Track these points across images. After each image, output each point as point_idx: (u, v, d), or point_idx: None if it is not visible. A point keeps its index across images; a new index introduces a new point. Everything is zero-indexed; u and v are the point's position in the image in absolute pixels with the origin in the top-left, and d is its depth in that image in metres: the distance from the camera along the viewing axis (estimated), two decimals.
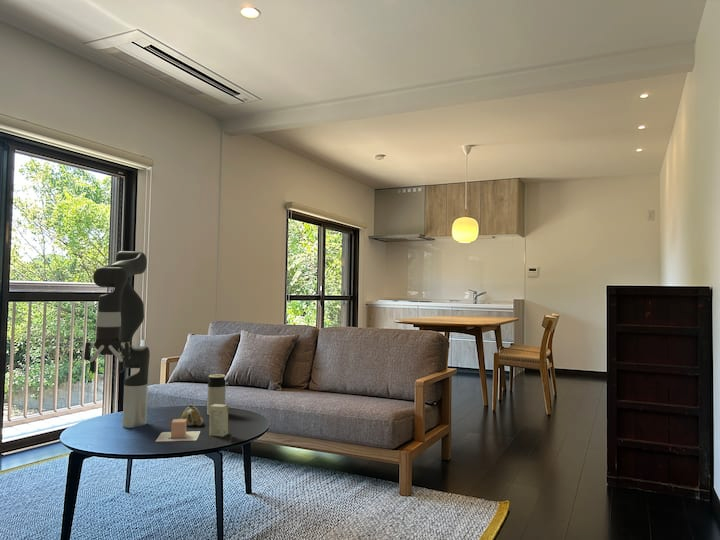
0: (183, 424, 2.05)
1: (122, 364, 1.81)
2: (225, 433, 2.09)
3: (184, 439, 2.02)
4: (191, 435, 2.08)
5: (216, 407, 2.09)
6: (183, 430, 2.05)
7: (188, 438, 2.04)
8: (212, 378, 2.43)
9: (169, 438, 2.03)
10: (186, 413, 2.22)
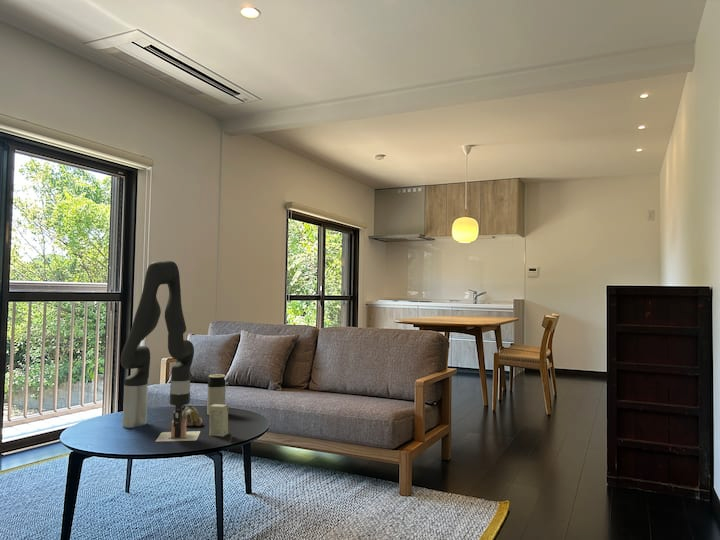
0: (183, 424, 2.05)
1: None
2: (225, 433, 2.09)
3: (184, 439, 2.02)
4: (191, 435, 2.08)
5: (216, 407, 2.09)
6: (183, 430, 2.05)
7: (188, 438, 2.04)
8: (212, 378, 2.43)
9: (169, 438, 2.03)
10: (185, 413, 2.22)
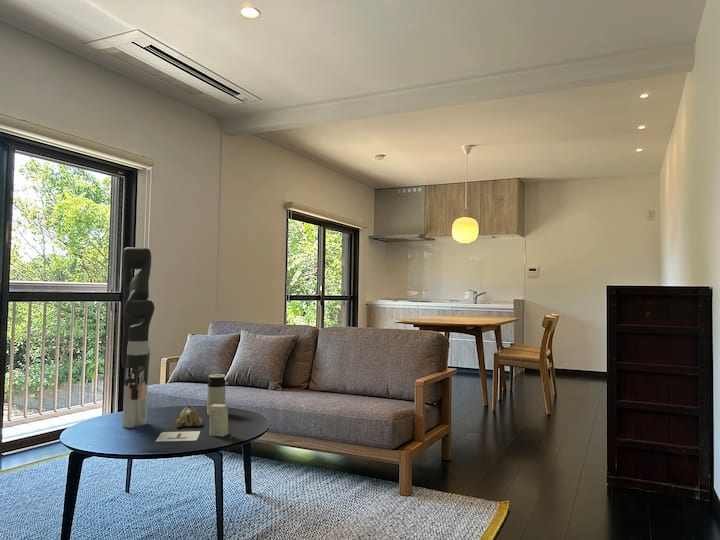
0: (141, 386, 1.97)
1: None
2: (225, 433, 2.09)
3: (184, 439, 2.02)
4: (191, 435, 2.08)
5: (216, 407, 2.09)
6: (140, 392, 1.97)
7: (188, 438, 2.04)
8: (212, 378, 2.43)
9: (169, 438, 2.03)
10: (185, 414, 2.21)
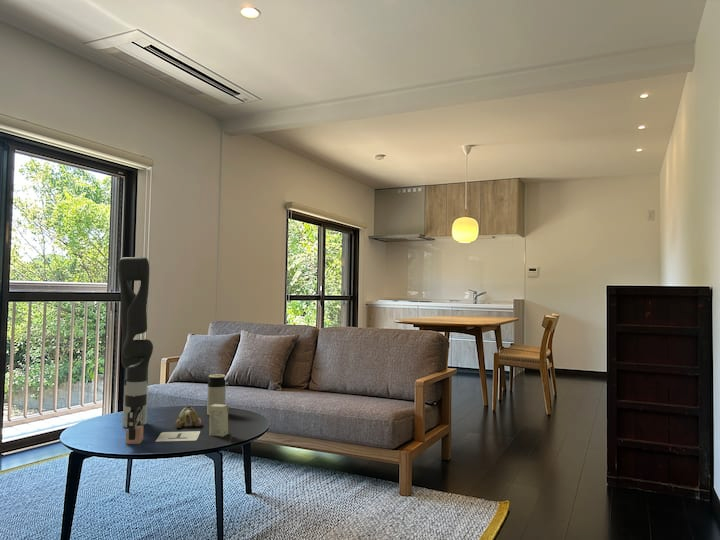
0: (139, 431, 1.96)
1: None
2: (225, 433, 2.09)
3: (184, 439, 2.02)
4: (191, 435, 2.08)
5: (216, 407, 2.09)
6: (138, 437, 1.96)
7: (188, 438, 2.04)
8: (212, 378, 2.43)
9: (169, 438, 2.03)
10: (184, 414, 2.21)
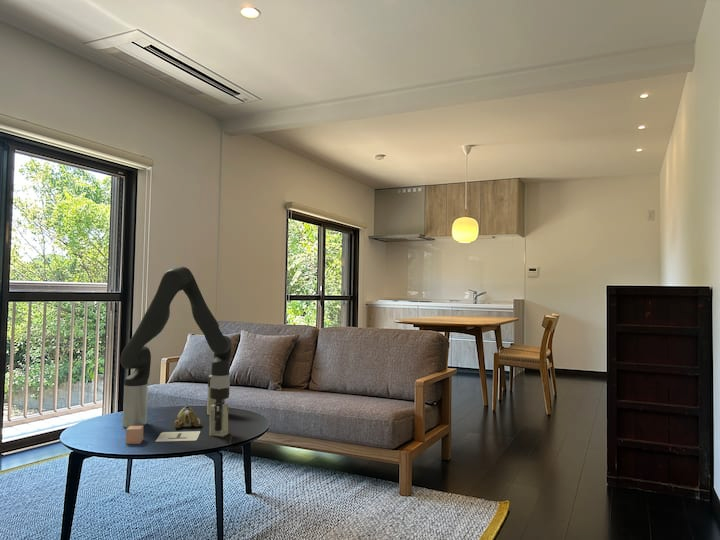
0: (139, 431, 1.96)
1: None
2: (225, 433, 2.09)
3: (184, 439, 2.02)
4: (191, 435, 2.08)
5: None
6: (138, 437, 1.96)
7: (188, 438, 2.04)
8: None
9: (169, 438, 2.03)
10: (183, 414, 2.20)
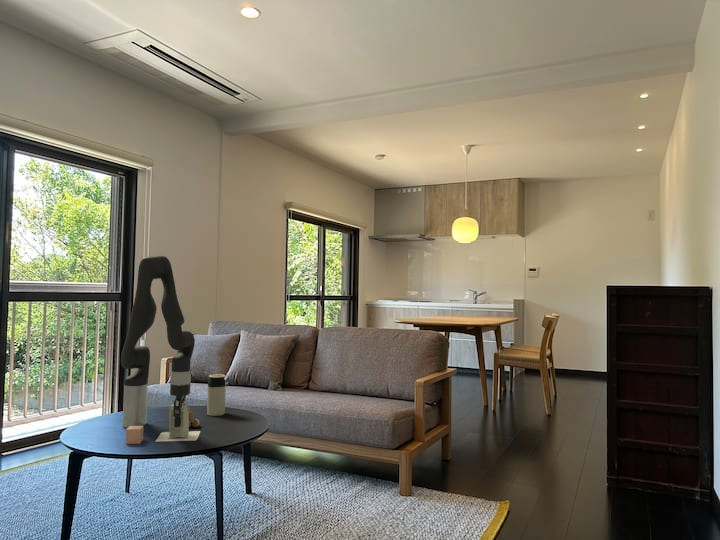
0: (139, 431, 1.96)
1: None
2: (185, 433, 2.06)
3: (184, 439, 2.02)
4: (191, 435, 2.08)
5: None
6: (138, 437, 1.96)
7: (188, 438, 2.04)
8: (212, 378, 2.43)
9: (169, 438, 2.03)
10: None
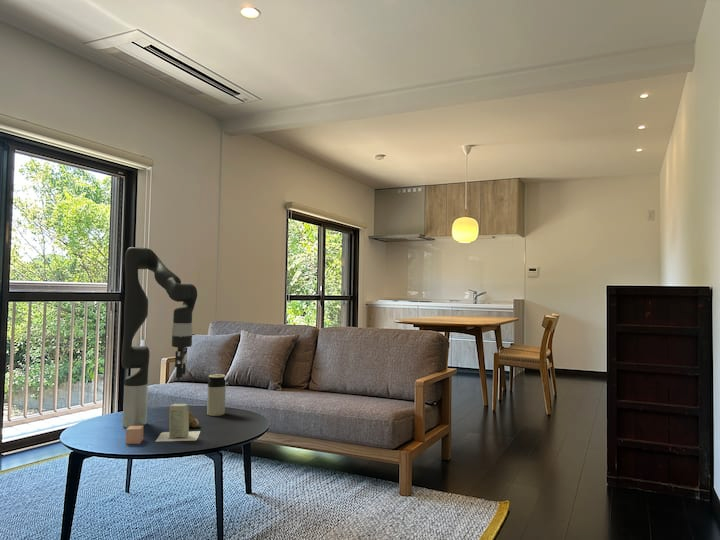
0: (139, 431, 1.96)
1: None
2: (185, 433, 2.06)
3: (184, 439, 2.02)
4: (191, 435, 2.08)
5: (176, 407, 2.05)
6: (138, 437, 1.96)
7: (188, 438, 2.04)
8: (212, 378, 2.43)
9: (169, 438, 2.03)
10: None
